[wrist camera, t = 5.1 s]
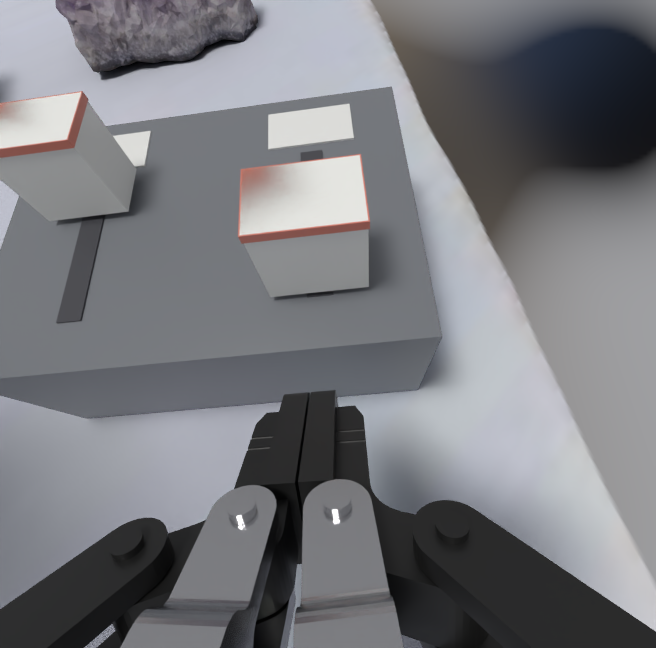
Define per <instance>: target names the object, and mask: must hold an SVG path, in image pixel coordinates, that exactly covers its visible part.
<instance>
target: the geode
mask: <svg viewBox="0 0 656 648" xmlns="http://www.w3.org/2000/svg"><path fill="white" fill-rule="evenodd" d="M56 8H57V9H58V11H59V12H60V13H61V14H62V15H63V16H64V17H66V18H67V19H68V22H69V25H70V27H71V30H72V33H73V36H74V39H75V45H76V47H77V48H78V50H79V51H80V52H81V54H82V55H83V56H84V57H85V59H86V60H87V62H88V64H89V65H90V67H91V68H92V70H93V71H94V72H100V71H110V70H113V69H116V68H117V67H119V66H124V65H130V64H132V63H134V62H136V61H139V62H149V63H157V62H161V61H186V60H191V59H192V58H194V57H195V56H196V55H198V54H199V53H200V52H201V51H203V50H204V47H205V46H208V45H210V44H213V43H216V42H218V41H220V40H222V39H227V40H236V41H244V40H245V39H246V38H247V37H248V35H249V34H250V33H251V32H252V31H253V30H255V29H256V24H257V22H258V18H257V14H256V12H255V9H254V7H253V4H252V2H251V0H56Z"/></svg>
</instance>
